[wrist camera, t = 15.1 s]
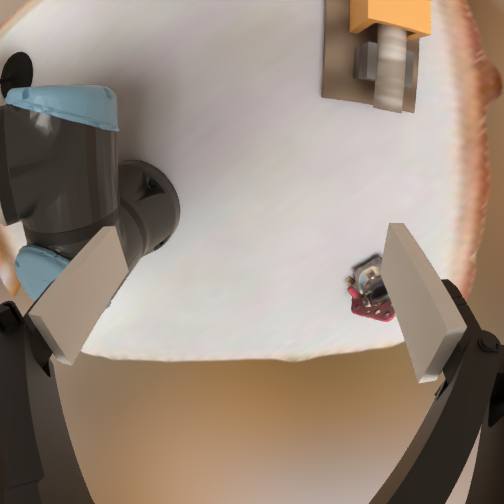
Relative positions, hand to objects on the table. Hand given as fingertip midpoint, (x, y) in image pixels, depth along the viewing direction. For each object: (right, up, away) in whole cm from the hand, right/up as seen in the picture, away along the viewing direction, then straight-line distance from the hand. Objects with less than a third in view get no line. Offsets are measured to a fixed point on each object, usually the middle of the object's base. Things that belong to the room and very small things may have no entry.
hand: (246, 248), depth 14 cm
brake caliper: (+21, -4, +34) cm, 40 cm away
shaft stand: (+15, +32, +11) cm, 37 cm away
